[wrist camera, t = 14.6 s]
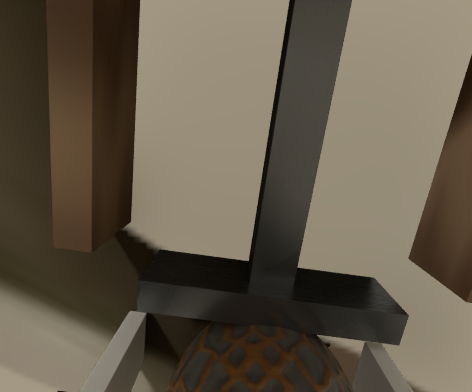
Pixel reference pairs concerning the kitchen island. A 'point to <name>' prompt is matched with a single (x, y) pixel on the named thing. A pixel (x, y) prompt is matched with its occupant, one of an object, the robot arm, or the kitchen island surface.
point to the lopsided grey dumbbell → (283, 216)
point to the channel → (123, 129)
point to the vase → (257, 362)
